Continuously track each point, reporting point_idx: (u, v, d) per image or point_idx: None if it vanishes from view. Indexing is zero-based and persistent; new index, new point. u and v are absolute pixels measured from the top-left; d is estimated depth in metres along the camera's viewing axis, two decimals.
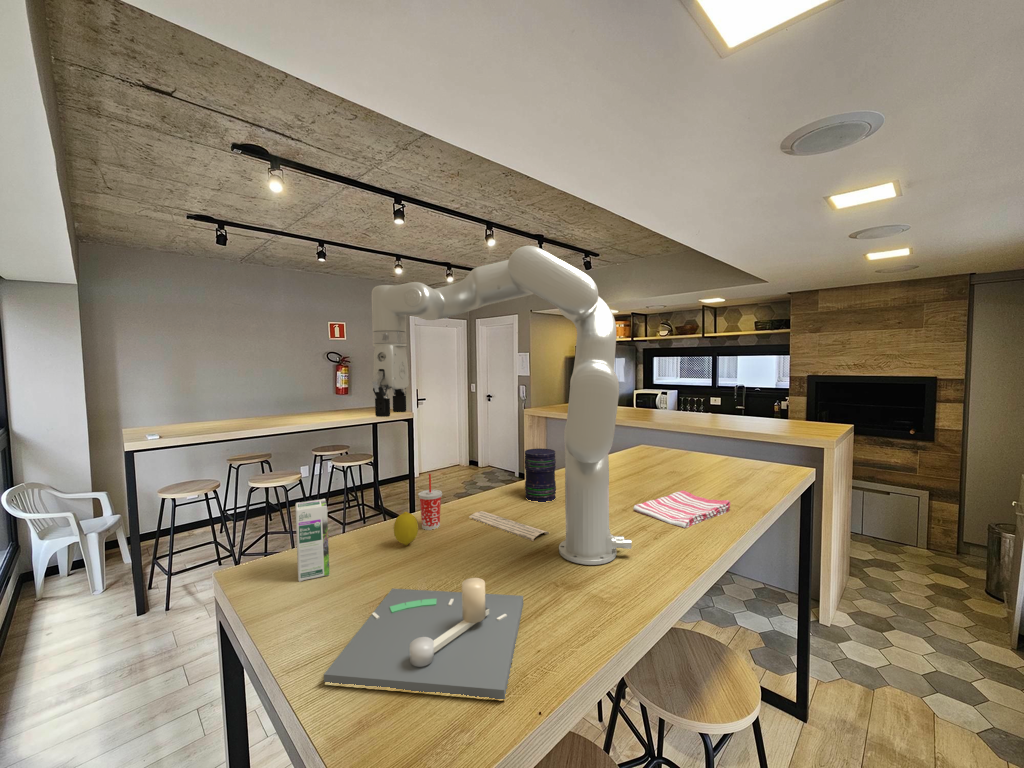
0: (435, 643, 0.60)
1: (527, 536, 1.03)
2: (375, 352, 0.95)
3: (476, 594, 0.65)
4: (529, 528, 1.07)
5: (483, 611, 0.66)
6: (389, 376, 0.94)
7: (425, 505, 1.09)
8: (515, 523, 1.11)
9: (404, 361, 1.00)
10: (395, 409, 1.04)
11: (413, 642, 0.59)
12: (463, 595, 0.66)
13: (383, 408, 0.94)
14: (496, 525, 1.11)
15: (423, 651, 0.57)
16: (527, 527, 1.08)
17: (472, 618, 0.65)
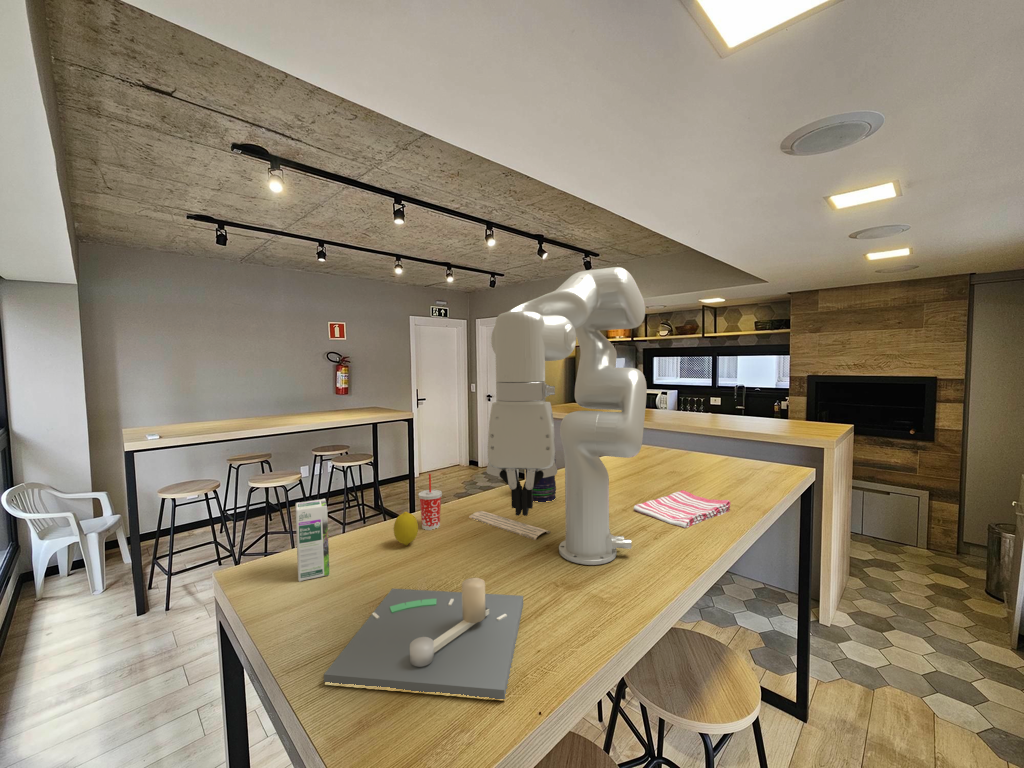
0: (435, 643, 0.60)
1: (529, 535, 1.04)
2: (549, 413, 0.63)
3: (476, 594, 0.65)
4: (531, 527, 1.08)
5: (483, 611, 0.66)
6: None
7: (425, 505, 1.09)
8: (516, 522, 1.11)
9: None
10: (520, 510, 0.65)
11: (413, 642, 0.59)
12: (463, 595, 0.66)
13: (532, 499, 0.66)
14: (497, 525, 1.11)
15: (423, 651, 0.57)
16: (529, 526, 1.09)
17: (472, 618, 0.65)
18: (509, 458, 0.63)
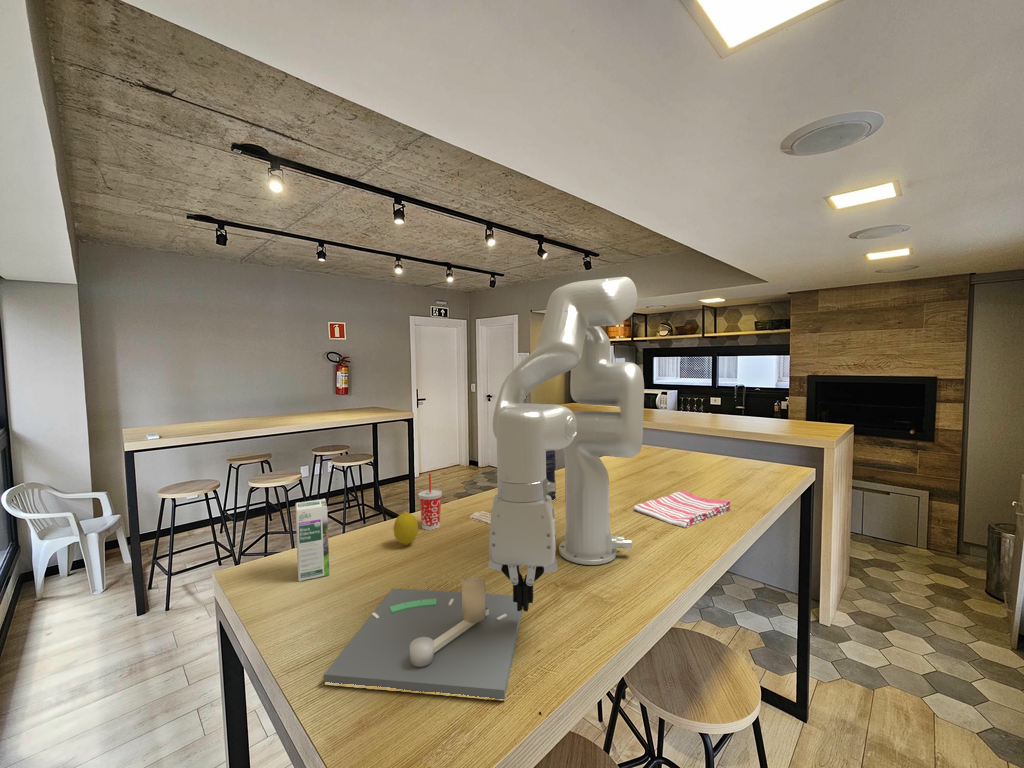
0: (435, 643, 0.60)
1: None
2: (550, 512, 0.64)
3: (476, 594, 0.65)
4: None
5: (483, 611, 0.66)
6: None
7: (425, 505, 1.09)
8: None
9: None
10: (522, 605, 0.65)
11: (413, 642, 0.59)
12: (463, 595, 0.66)
13: None
14: None
15: (423, 651, 0.57)
16: None
17: (472, 618, 0.65)
18: (510, 556, 0.64)
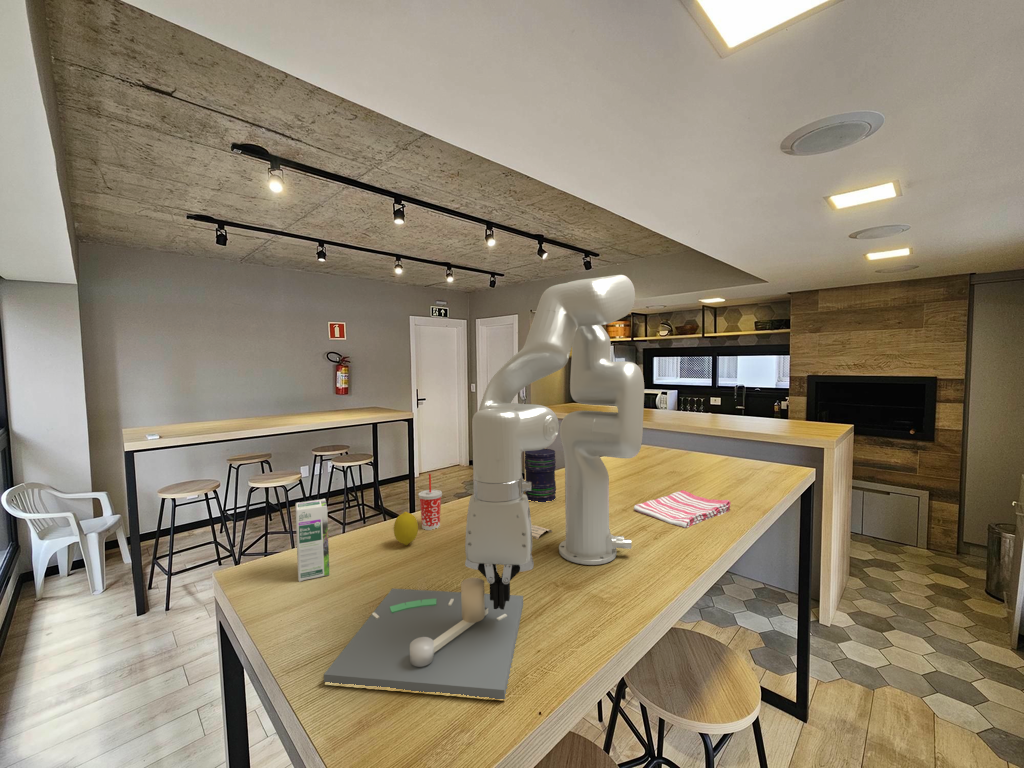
0: (435, 643, 0.60)
1: (532, 534, 1.04)
2: (525, 511, 0.64)
3: (475, 593, 0.65)
4: (532, 526, 1.08)
5: (482, 611, 0.66)
6: None
7: (425, 505, 1.09)
8: None
9: None
10: None
11: (413, 642, 0.59)
12: (462, 595, 0.66)
13: (509, 591, 0.67)
14: None
15: (423, 651, 0.57)
16: None
17: (471, 618, 0.65)
18: (486, 554, 0.65)
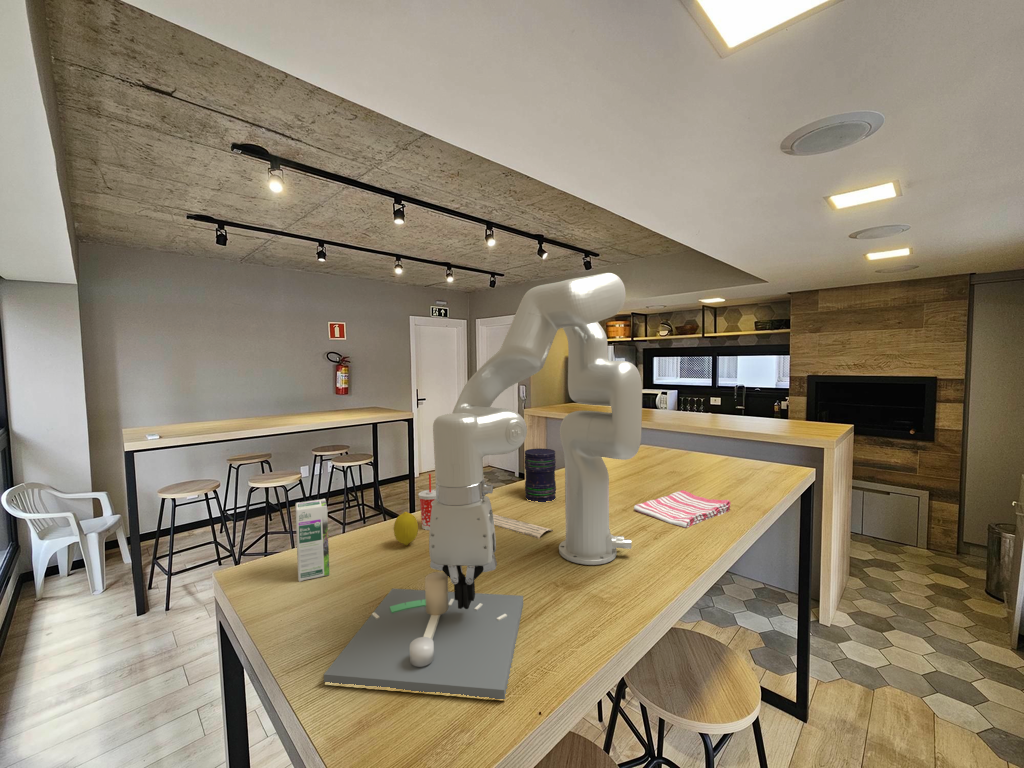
0: None
1: (533, 534, 1.05)
2: (486, 513, 0.66)
3: (444, 585, 0.68)
4: (533, 526, 1.09)
5: None
6: (495, 538, 0.69)
7: (425, 505, 1.09)
8: (518, 522, 1.12)
9: None
10: None
11: (412, 646, 0.58)
12: (431, 590, 0.67)
13: (474, 590, 0.69)
14: (499, 524, 1.11)
15: (429, 648, 0.58)
16: (531, 525, 1.09)
17: (441, 609, 0.67)
18: (449, 556, 0.66)
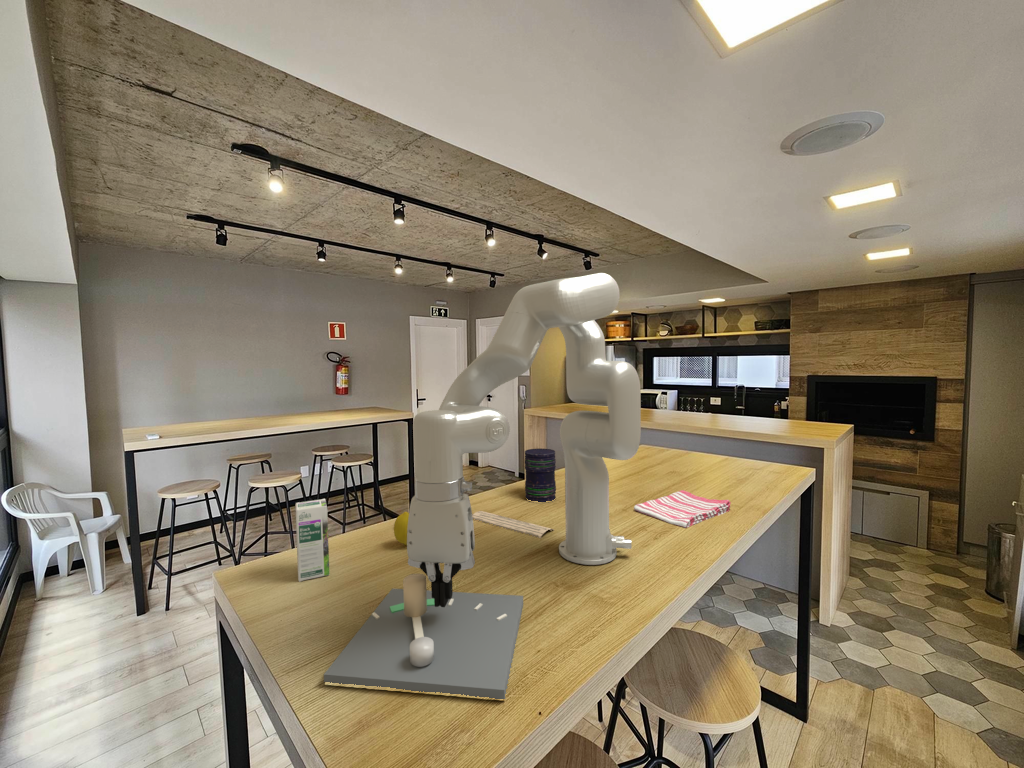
0: None
1: (534, 534, 1.05)
2: (464, 511, 0.66)
3: (425, 585, 0.68)
4: (534, 526, 1.09)
5: (426, 600, 0.69)
6: (474, 536, 0.69)
7: None
8: (518, 521, 1.12)
9: None
10: None
11: (412, 648, 0.58)
12: (412, 593, 0.67)
13: (451, 589, 0.69)
14: (500, 524, 1.12)
15: (431, 646, 0.58)
16: (532, 525, 1.10)
17: (422, 610, 0.67)
18: (426, 553, 0.66)
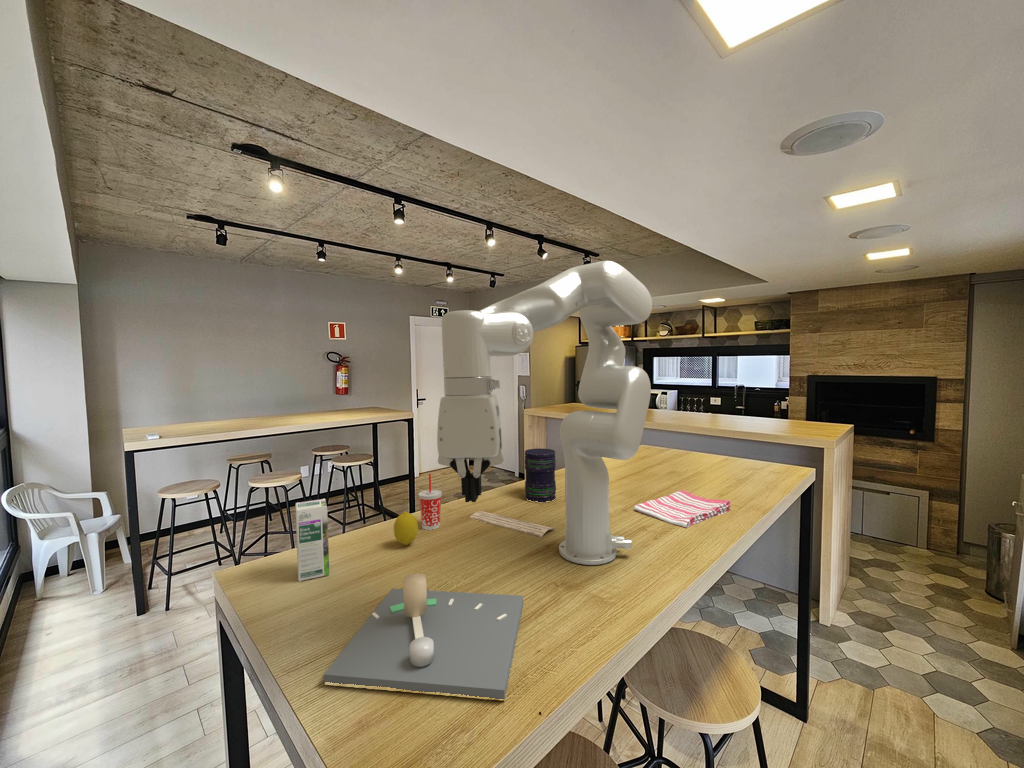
0: None
1: (535, 533, 1.05)
2: (493, 406, 0.67)
3: (424, 585, 0.68)
4: (535, 525, 1.09)
5: (426, 600, 0.69)
6: None
7: (425, 505, 1.09)
8: (519, 521, 1.12)
9: None
10: (470, 497, 0.69)
11: (412, 648, 0.58)
12: (412, 593, 0.67)
13: (481, 487, 0.70)
14: (500, 524, 1.12)
15: (431, 646, 0.58)
16: (532, 524, 1.10)
17: (422, 610, 0.67)
18: (457, 449, 0.68)
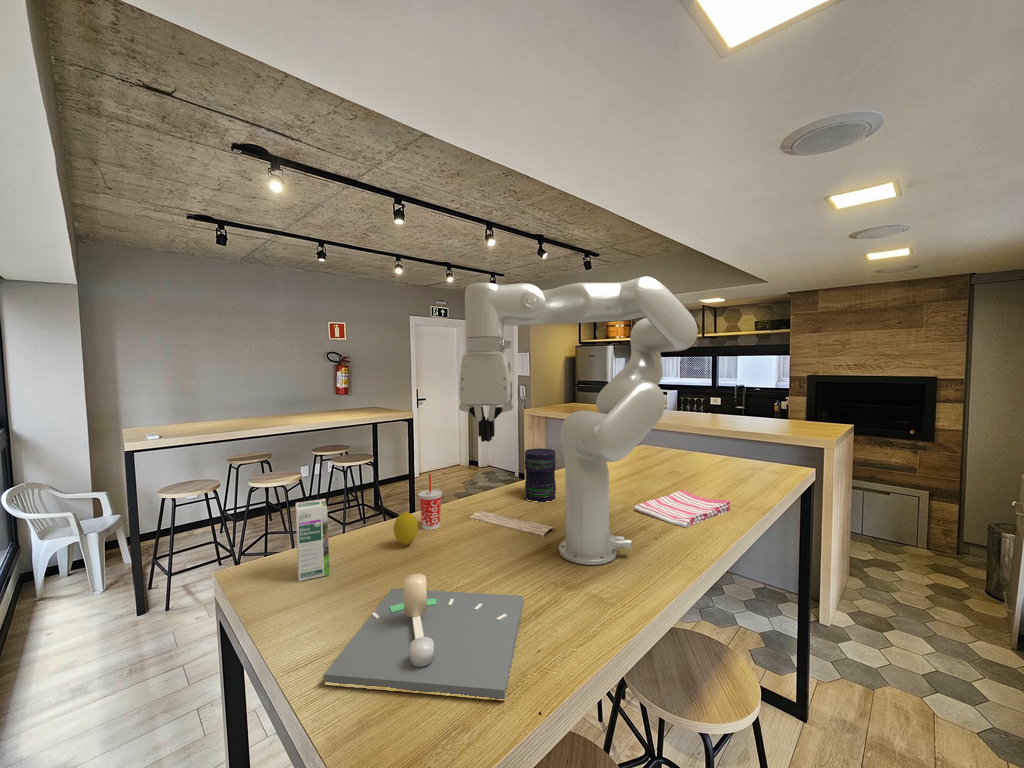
0: None
1: (536, 533, 1.06)
2: (505, 362, 0.82)
3: (424, 585, 0.68)
4: (536, 525, 1.10)
5: (426, 600, 0.69)
6: None
7: (425, 505, 1.09)
8: (520, 521, 1.13)
9: None
10: (485, 437, 0.84)
11: (412, 648, 0.58)
12: (412, 593, 0.67)
13: (494, 430, 0.85)
14: (501, 524, 1.12)
15: (431, 646, 0.58)
16: (533, 524, 1.10)
17: (422, 610, 0.67)
18: (475, 396, 0.82)
